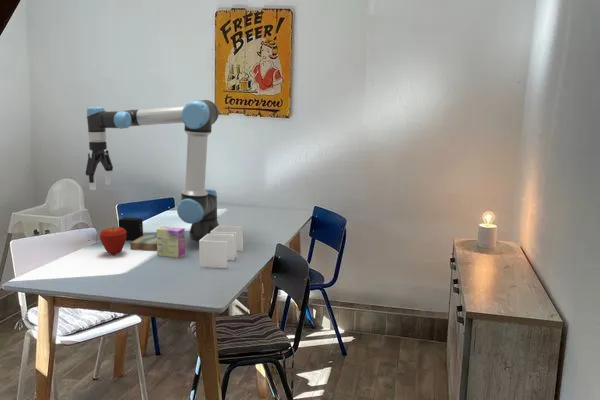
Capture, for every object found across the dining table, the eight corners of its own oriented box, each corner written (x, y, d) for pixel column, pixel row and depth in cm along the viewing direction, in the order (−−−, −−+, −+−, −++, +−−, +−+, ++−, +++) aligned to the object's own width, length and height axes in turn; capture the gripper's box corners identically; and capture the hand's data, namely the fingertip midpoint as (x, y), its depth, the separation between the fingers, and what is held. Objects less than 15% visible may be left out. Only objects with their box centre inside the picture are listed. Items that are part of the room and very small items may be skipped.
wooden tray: (168, 242, 267) (168, 235, 267) (156, 250, 254) (155, 243, 253) (144, 241, 269) (144, 234, 269) (130, 249, 256) (130, 242, 255)
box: (185, 254, 249) (184, 227, 246) (178, 258, 243) (177, 231, 241) (164, 252, 252) (163, 225, 250) (157, 255, 247) (156, 228, 244)
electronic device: (139, 241, 269) (138, 220, 267) (119, 240, 271) (118, 219, 269) (143, 239, 273) (142, 218, 271) (123, 238, 275) (122, 217, 273)
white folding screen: (218, 249, 257) (218, 225, 255) (242, 251, 255) (242, 226, 253) (200, 267, 233) (199, 240, 230) (226, 268, 231) (225, 241, 229)
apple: (120, 248, 257) (118, 222, 255) (132, 253, 249) (131, 226, 247) (96, 253, 249) (94, 226, 247) (108, 259, 242) (106, 230, 239)
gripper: (103, 138, 277) (106, 182, 281) (74, 143, 253) (78, 191, 257) (118, 138, 275) (121, 182, 280) (90, 144, 251) (94, 192, 255)
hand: (100, 187), depth 268 cm, fingers open, 13 cm apart
